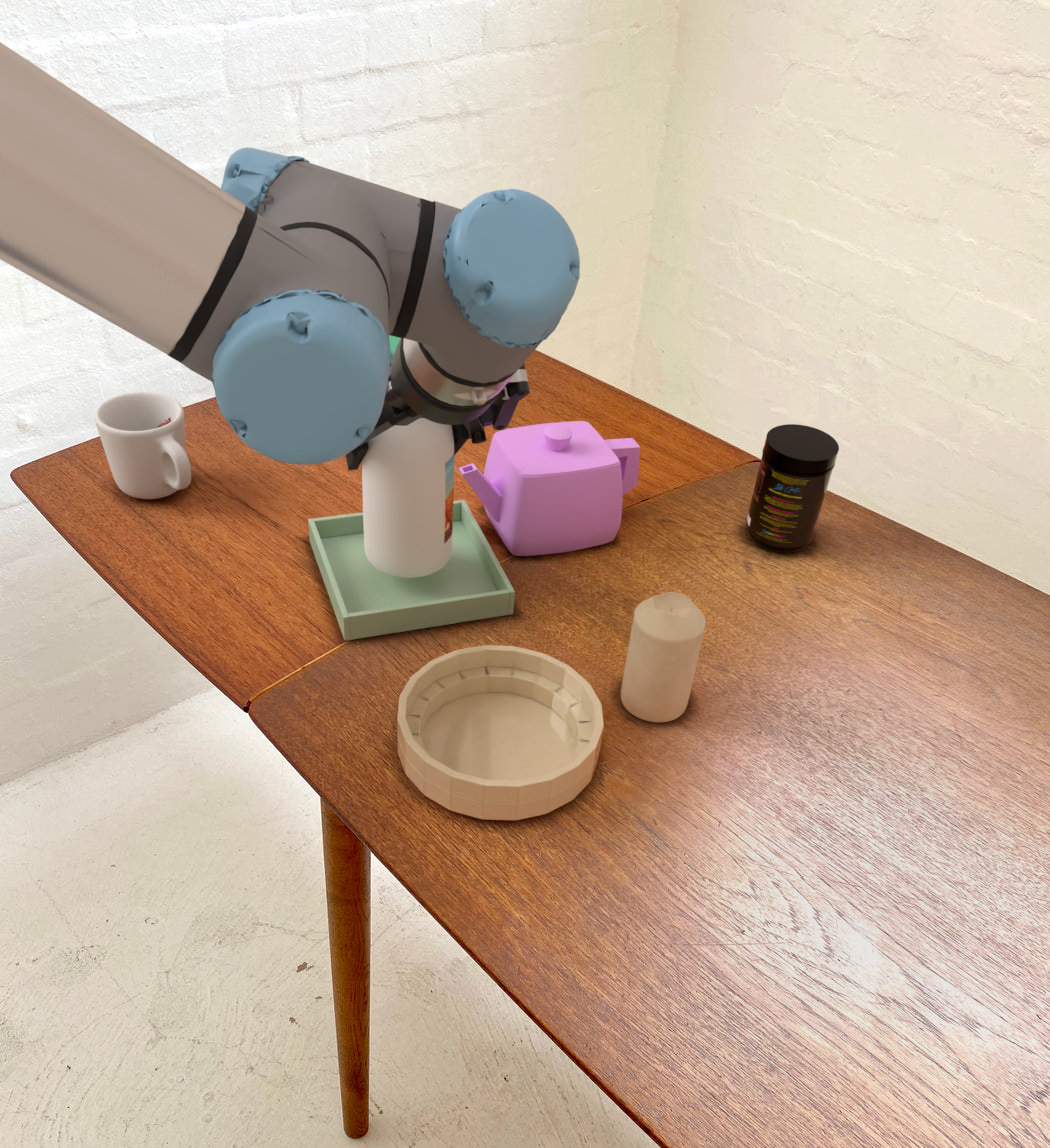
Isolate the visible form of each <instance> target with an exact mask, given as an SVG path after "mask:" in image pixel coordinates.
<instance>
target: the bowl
mask: <svg viewBox="0 0 1050 1148" xmlns="http://www.w3.org/2000/svg"><path fill="white" fill-rule="evenodd" d="M603 715H604V713H603V705H602V702H601V700H600V699H599V697H598V695H597V693H596V691H595V690H594V689H593V686H592V685H591V683H590V682H589V681H588V680H587V679H585V678H584V677H583V676H582V675H581V674H580V673H578V672H577V671H576V670H575V669H574V668H573V667H572V666H570V665H569V664H567V663H565V662H563V661H561V660H559V659H557V658H555V657H553V656H551V655H549V654H547V653H544V652H541V651H536V650H532V649H528V648H525V647H520V646H516V645H496V644H495V645H494V644H483V645H476V646H472V647H466V648H460V649H455V650H453V651H451V652H448V653H445V654H443V655H441V656H438V657H436V658H433V659H431V660H430V661H428V662H427V663H426V664H424V665H423V666H422V667H421V668H419V670H418V671H416V672H415V673H414V674H412V675H411V676H410V677H409V679H408V681H407V682H406V684H405V686H404V688H403V690H402V691H401V693H400V694H399V697H398V706H397V716H396V717H397V718H396V721H397V722H396V727H397V728H396V729H397V730H396V731H397V732H396V734H397V739H396V741H397V755H398V757H399V760H400V763H401V766H402V769H403V771H404V773H405V775H406V777H407V778H408V780H410V781H411V783H412V784H413V785H414V786H415V788H417V789H418V790H419V792H420V793H421V794H422V795H424V796H425V797H427V798H428V799H429V800H431V801H433V802H435V803H436V804H438V805H440V806H442V807H443V808H445V809H447V810H448V811H450V812H455V813H457V814H461V815H465V816H468V817H472V818H474V819H479V820H484V821H485V820H487V821H489V820H490V821H520V820H524V819H530V818H534V817H539V816H542V815H547V814H550V813H552V812H553V811H554V810H556V809H558V808H560V807H562V806H564V805H566V804H568V803H570V802H572V801H573V800H575V799H576V797H577V796H578V795H579V794H580V793H581V792H582V791H583V790H584V789H585V788H586V787H587V786H588V785H589V783H591V781H592V778H593V776H594V773H595V770H596V768H597V764H598V762H599V757H600V752H601V747H602V739H603V733H604V727H605V724H604V723H605V722H604V716H603Z"/></svg>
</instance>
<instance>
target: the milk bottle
mask: <svg viewBox="0 0 1050 1148" xmlns="http://www.w3.org/2000/svg"><path fill="white" fill-rule="evenodd" d="M400 339H401V338H399V337H395V336H391V335H389V343H390V348H391V353H392V359H393V357H394V354H395V350H396V347H397V345H398V343H399V341H400ZM392 362H393V360H392ZM391 367H392V363H391ZM367 442H368V447H369V449H368V450H367V452H366V454H365V456H364V458H363V460H362V462H361V486H362V488H361V489H362V491H361V492H362V512H363V526H364V548H365V554H366V557H367V559H368V560H369V562H370V563H371V564H372V566H373V567H375V568H376V569H377V570H379V571H381V572H383V573H385V574H388V575H391V576H396V577H403V578H416V577H423V576H426V575H430V574H433V573H435V572H437V571H438V570H440V569H441V568H443V567H444V565H445V564H446V563H447V562H448V560H449V558H450V556H451V550H452V529H453V501H454V495H455V456H454V437H453V429H452V425H445V424H439V423H435V422H432V421H430V420H427V419H425V418H419V419H417V420H416V421H414V422H412V423H411V424H409V425H407V426H393V427H391V428H389V429H388V430H386V431H384V432H383V433H381V434H379V435H378V436H376V437H374V438H372V439H371V440H369V441H367Z"/></svg>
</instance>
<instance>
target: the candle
mask: <svg viewBox="0 0 1050 1148" xmlns="http://www.w3.org/2000/svg"><path fill="white" fill-rule="evenodd" d="M632 619H633V620H632V625H631V630H630V635H629V641H628V646H627V647H628V648H627V654H626V658H625V664H624V670H623V675H622V682H621V689H620V701H621V703H622V706H623V707H624V708H625V710H626V711H627V712H628V713H630V714H631V715H632V716H633V717H636V718H637V719H640V720H643V721H646V722H651V723H667V722H671V721H674V720H676V719H678V718H680V717H681V716H682V715H683V714H684V713H685V711H686V709H687V707H688V704H689V700H690V696H691V692H692V687H693V683H694V678H695V674H696V670H697V666H698V661H699V657H700V653H701V649H702V644H703V639H704V636H705V630H706V626H707V620H706V617H705V615H704V613H703V611H702V610H701V609H699V607H698V606H697V605H696V604H695V603H694V602H693V601H692V600H691V598H690V597H689V596H688V595H686V594H684V593H680V592H676V591H667V592H664V593H662V594H655V595H653V596H651V597H649V598H646V599H644V600H643V601H641V602H639V604H637V606H636V607H635V609H634V613H633V618H632Z"/></svg>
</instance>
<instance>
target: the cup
mask: <svg viewBox="0 0 1050 1148" xmlns="http://www.w3.org/2000/svg"><path fill="white" fill-rule="evenodd" d="M185 417H186V416H185V410H184V407H183V406H182V404H181V403H180V402H179V401H178V400H177V399H175V398H173V397H171V396H169V395H166V394H162V393H157V392H152V391H151V392H150V391H137V392H129V393H124V394H119V395H116V396H114V397H111V398H109V399H107V400H105V401H104V402H103V403H101V404H100V405H98V407H97V408H96V410H95V411H94V422H95V426H96V429H97V431H98V435H99V438H100V441H101V444H102V447H103V450H104V453H105V456H106V459H107V463H108V465H109V469H110V471H111V472H110V473H111V474H112V477H113V479H114V481H115V484H116V485H117V488H119V490H120V491H121V492H122V493H124V494H126V495H127V496H128V497H132V498H135V499H140V500H156V499H162V498H165V497H169V496H171V495H173V494H174V493H176V492H178V491H180V490H184V489H187V488H188V487H189V486H190V484H191V483H192V466H191V463H190V459H189V456H188V454H187V451H186V424H185V423H186V420H185V419H186V418H185Z"/></svg>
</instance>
